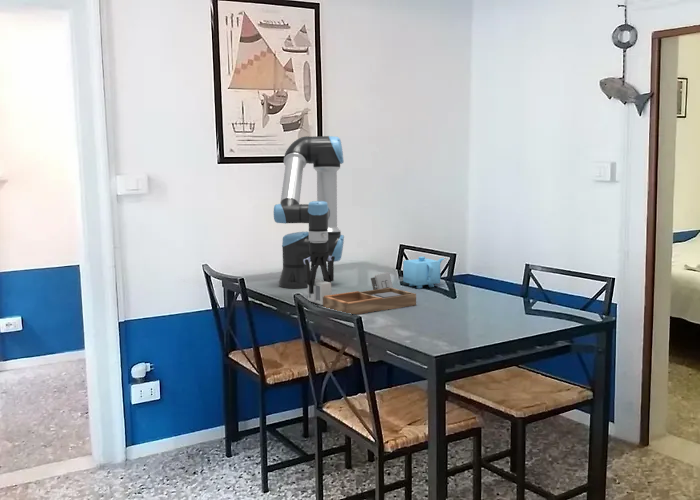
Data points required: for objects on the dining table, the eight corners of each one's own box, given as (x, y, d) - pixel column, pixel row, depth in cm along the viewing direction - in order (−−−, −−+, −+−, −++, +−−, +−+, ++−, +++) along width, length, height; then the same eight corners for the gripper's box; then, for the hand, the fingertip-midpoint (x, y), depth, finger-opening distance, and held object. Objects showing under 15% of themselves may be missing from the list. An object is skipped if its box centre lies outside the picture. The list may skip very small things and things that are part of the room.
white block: (307, 300, 299) (307, 280, 298) (317, 298, 302) (317, 279, 301) (321, 304, 291) (320, 284, 290) (331, 303, 294) (331, 282, 293)
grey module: (370, 305, 294) (370, 293, 293) (391, 302, 299) (391, 291, 299) (383, 309, 286) (383, 297, 286) (405, 306, 292) (405, 294, 291)
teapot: (419, 290, 321) (419, 260, 319) (400, 284, 335) (400, 255, 333) (454, 286, 329) (455, 256, 328) (434, 280, 343) (434, 252, 341)
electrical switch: (381, 298, 306) (379, 275, 305) (370, 297, 309) (369, 275, 308) (394, 294, 313) (392, 272, 312) (384, 294, 316) (382, 272, 316)
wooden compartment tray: (322, 308, 287) (322, 296, 286) (390, 298, 305) (390, 286, 304) (346, 316, 274) (346, 303, 273) (416, 305, 292) (416, 292, 291)
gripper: (303, 244, 285) (304, 305, 289) (343, 240, 295) (343, 299, 299) (293, 242, 291) (294, 302, 295) (332, 238, 301) (333, 296, 305)
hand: (319, 300), depth 297 cm, fingers closed on white block, 5 cm apart
